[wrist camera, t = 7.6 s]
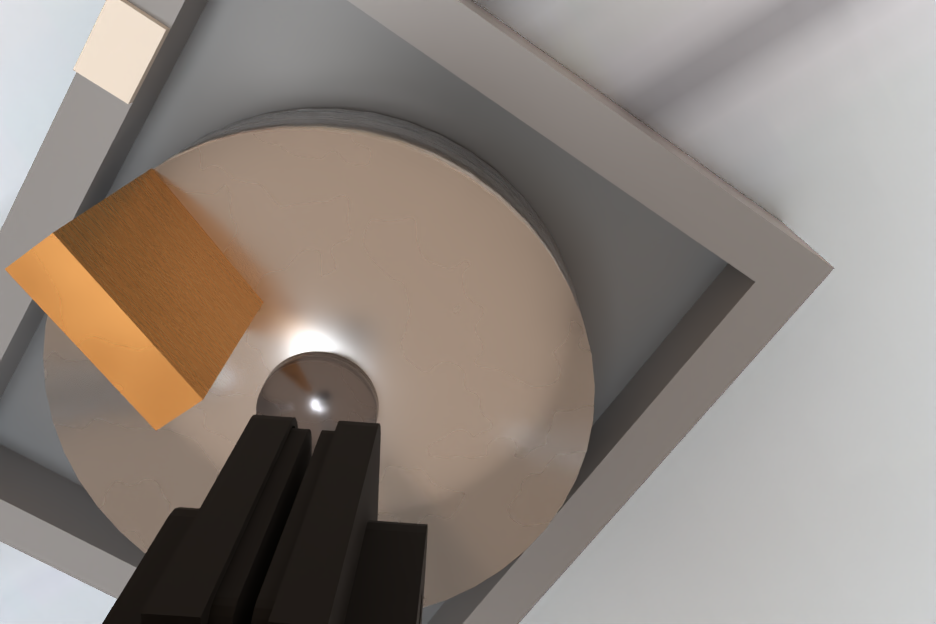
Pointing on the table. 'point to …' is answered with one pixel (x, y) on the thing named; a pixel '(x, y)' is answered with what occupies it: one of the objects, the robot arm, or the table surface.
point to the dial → (321, 330)
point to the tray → (472, 127)
